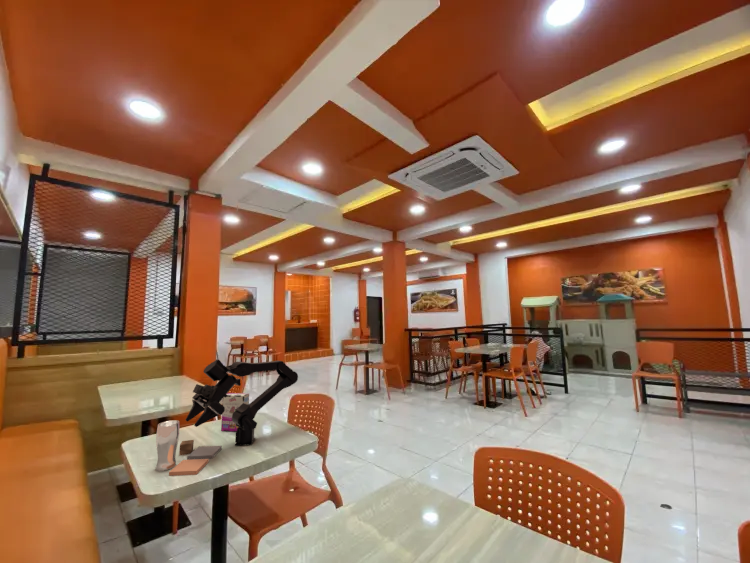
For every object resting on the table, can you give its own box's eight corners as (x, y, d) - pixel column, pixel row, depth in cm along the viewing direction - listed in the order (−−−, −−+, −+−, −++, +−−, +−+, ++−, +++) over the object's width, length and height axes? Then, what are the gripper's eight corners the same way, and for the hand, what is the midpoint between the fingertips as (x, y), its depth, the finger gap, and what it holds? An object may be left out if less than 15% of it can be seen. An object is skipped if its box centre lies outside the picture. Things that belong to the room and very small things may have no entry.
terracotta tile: (208, 462, 116) (208, 458, 116) (196, 474, 107) (196, 470, 107) (182, 463, 115) (183, 459, 115) (168, 475, 106) (169, 471, 106)
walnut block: (193, 450, 127) (193, 439, 127) (191, 454, 123) (191, 443, 124) (181, 451, 126) (182, 441, 126) (179, 455, 122) (179, 444, 122)
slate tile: (221, 448, 128) (221, 445, 128) (212, 458, 119) (212, 455, 119) (198, 449, 127) (198, 446, 127) (187, 459, 118) (187, 456, 118)
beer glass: (149, 470, 110) (152, 425, 112) (168, 461, 117) (170, 419, 118) (163, 473, 108) (166, 427, 110) (182, 464, 114) (184, 421, 116)
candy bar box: (248, 428, 150) (249, 393, 152) (242, 432, 146) (243, 395, 147) (227, 427, 152) (228, 392, 154) (220, 431, 147) (222, 394, 149)
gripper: (199, 373, 131) (166, 406, 122) (217, 378, 119) (183, 416, 110) (217, 389, 136) (187, 422, 127) (237, 396, 124) (206, 433, 115)
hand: (190, 423), depth 119 cm, fingers open, 9 cm apart
